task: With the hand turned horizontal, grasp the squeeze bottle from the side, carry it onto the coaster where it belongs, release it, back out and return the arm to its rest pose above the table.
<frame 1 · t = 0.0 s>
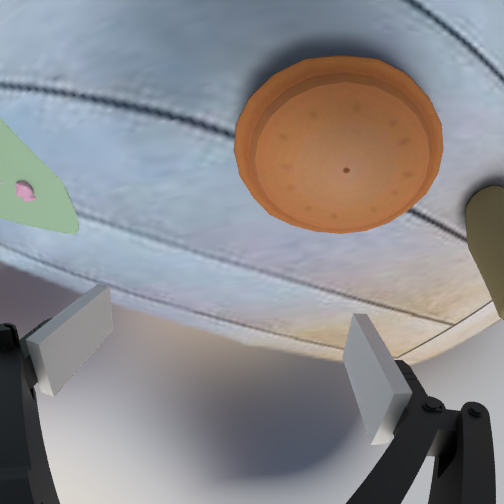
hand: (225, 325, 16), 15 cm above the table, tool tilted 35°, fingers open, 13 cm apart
squeeze bottle: (486, 204, 26), on the table
pie: (337, 133, 23), on the table
plant: (6, 174, 29), on the table
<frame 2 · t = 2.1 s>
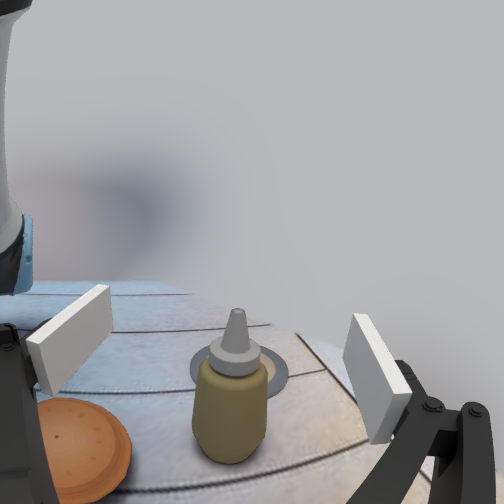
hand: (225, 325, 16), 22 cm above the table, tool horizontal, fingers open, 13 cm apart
squeeze bottle: (227, 447, 31), on the table
coaster: (239, 370, 46), on the table
pie: (70, 465, 23), on the table
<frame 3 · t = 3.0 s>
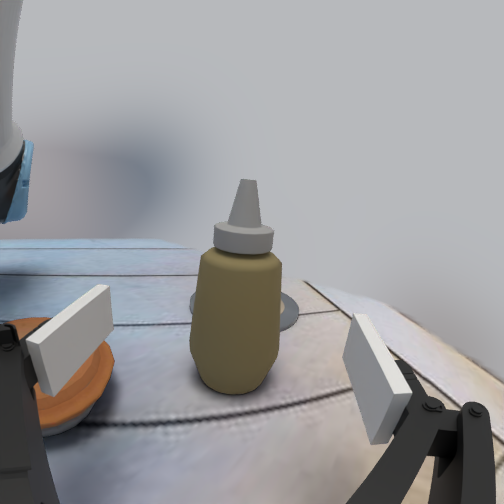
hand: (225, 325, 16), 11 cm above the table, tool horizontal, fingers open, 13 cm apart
squeeze bottle: (231, 378, 28), on the table
coaster: (244, 307, 43), on the table
pie: (40, 394, 21), on the table
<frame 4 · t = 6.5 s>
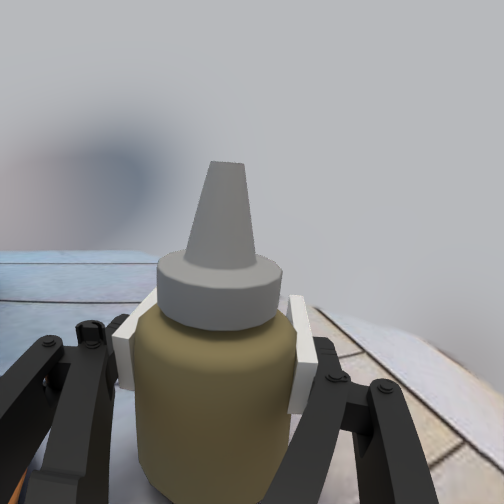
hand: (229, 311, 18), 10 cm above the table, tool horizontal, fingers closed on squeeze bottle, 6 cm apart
squeeze bottle: (212, 485, 15), on the table, touching gripper
when the fingers open (11 cm above the table, at t = 11.2 s): squeeze bottle stays where it is, resting on coaster.
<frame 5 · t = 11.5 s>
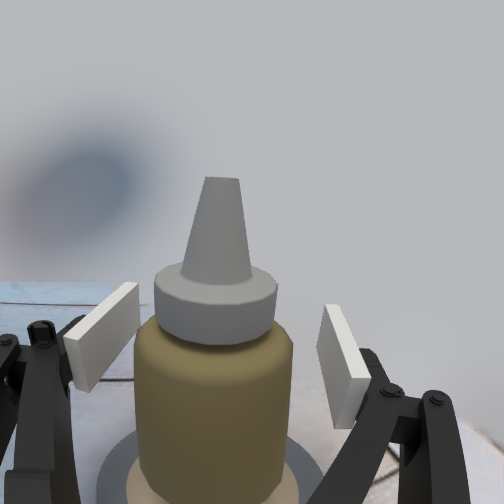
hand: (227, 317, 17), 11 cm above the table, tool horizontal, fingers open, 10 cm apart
squeeze bottle: (212, 489, 15), point 1 cm above the table, touching coaster
coaster: (212, 493, 16), on the table
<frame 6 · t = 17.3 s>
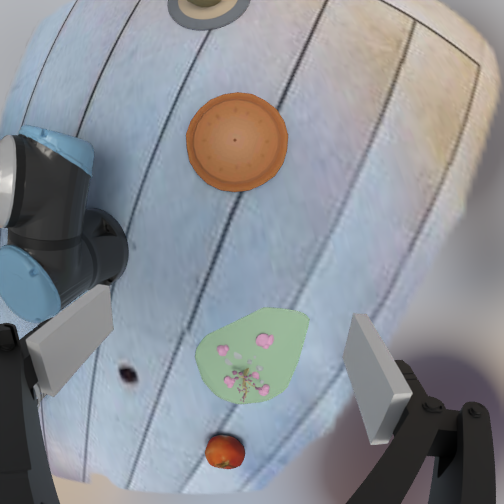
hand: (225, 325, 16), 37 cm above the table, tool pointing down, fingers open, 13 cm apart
pie: (238, 142, 49), on the table
plant: (254, 354, 59), on the table
tomato: (227, 441, 65), on the table
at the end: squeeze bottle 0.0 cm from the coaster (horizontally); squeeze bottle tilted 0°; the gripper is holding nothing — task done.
